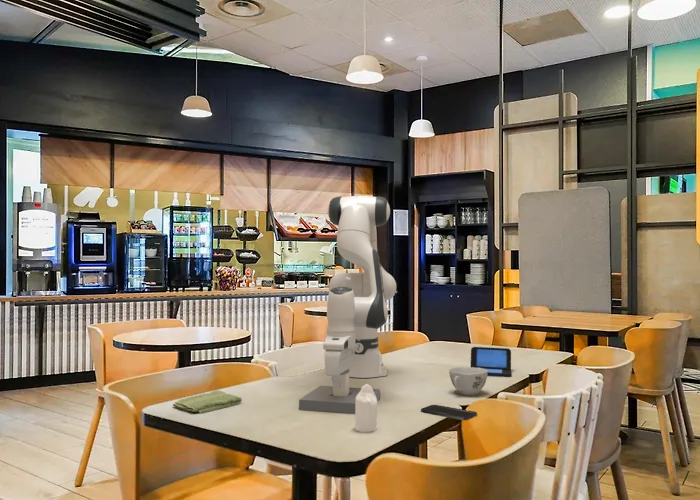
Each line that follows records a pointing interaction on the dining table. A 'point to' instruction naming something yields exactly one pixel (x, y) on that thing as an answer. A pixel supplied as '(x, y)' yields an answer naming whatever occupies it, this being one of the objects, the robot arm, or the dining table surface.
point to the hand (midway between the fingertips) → (341, 385)
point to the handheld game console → (492, 360)
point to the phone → (449, 412)
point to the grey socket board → (331, 400)
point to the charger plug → (343, 385)
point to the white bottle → (366, 410)
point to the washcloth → (208, 402)
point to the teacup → (468, 379)
